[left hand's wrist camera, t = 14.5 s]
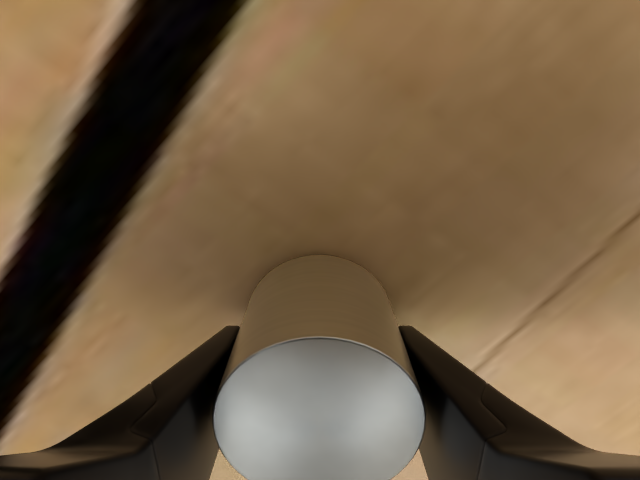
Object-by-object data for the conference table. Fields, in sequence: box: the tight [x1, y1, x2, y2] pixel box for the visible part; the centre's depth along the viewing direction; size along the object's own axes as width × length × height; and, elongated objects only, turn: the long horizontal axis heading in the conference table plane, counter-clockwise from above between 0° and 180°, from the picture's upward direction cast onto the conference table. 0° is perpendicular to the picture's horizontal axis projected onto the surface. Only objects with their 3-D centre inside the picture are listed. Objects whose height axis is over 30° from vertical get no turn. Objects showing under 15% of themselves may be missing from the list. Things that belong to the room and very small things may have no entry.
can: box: [212, 255, 426, 480], centre depth 11 cm, size 5×5×4 cm
